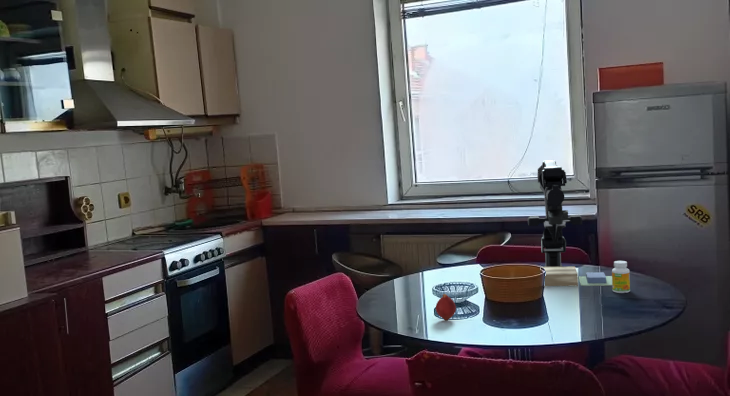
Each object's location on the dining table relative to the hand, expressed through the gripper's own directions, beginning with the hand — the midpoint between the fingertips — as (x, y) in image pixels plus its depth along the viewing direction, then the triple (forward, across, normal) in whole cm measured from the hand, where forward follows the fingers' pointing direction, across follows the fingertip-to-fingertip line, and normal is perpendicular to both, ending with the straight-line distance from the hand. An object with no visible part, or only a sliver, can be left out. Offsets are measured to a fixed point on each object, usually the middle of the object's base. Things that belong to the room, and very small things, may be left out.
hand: (555, 243), depth 253 cm
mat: (+12, +13, -10) cm, 20 cm away
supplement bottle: (+12, +19, -24) cm, 33 cm away
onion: (+11, -35, -57) cm, 68 cm away
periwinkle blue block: (+9, +13, -10) cm, 19 cm away
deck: (+12, 0, -9) cm, 15 cm away
